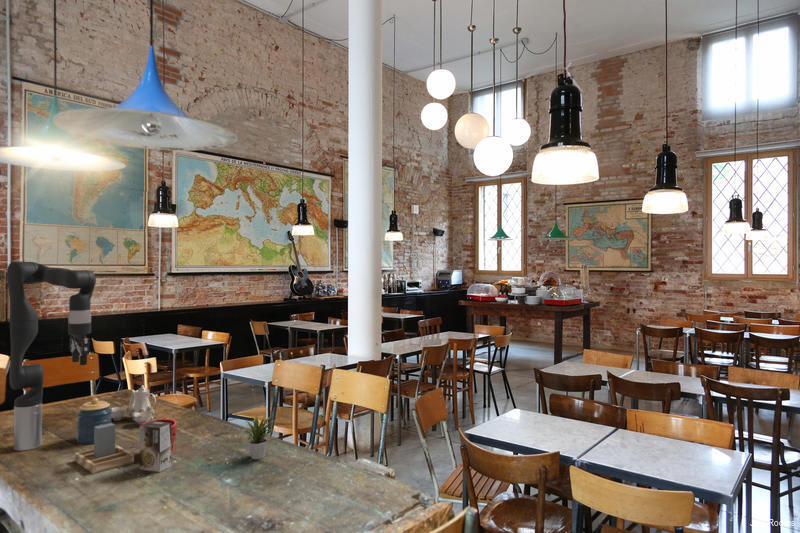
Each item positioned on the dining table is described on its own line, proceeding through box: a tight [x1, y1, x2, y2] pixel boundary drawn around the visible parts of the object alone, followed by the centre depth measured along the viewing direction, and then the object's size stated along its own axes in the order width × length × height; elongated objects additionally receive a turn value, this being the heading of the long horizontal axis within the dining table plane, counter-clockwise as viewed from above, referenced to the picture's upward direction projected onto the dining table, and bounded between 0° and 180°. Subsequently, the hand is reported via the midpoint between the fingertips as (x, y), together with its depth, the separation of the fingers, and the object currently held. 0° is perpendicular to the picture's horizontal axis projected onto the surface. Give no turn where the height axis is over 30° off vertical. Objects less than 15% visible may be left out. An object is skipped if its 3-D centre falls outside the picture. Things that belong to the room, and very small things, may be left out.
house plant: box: [241, 414, 277, 460], centre depth 198 cm, size 14×14×16 cm
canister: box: [75, 397, 113, 445], centre depth 217 cm, size 13×13×18 cm
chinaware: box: [111, 384, 157, 427], centre depth 244 cm, size 28×17×17 cm, turn 71°
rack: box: [74, 443, 135, 475], centre depth 193 cm, size 18×14×3 cm
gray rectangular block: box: [93, 422, 116, 459], centre depth 193 cm, size 4×6×13 cm, turn 140°
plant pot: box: [142, 418, 178, 453], centre depth 201 cm, size 13×13×12 cm
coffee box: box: [139, 420, 172, 473], centre depth 188 cm, size 9×6×16 cm
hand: (79, 363), depth 198 cm, fingers open, 8 cm apart
